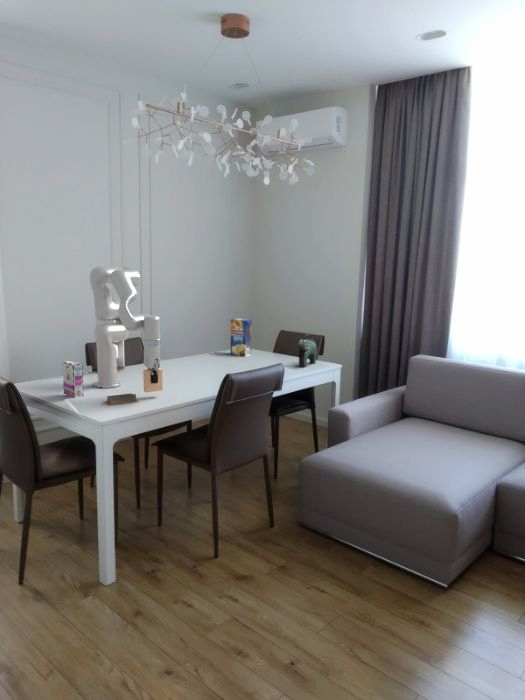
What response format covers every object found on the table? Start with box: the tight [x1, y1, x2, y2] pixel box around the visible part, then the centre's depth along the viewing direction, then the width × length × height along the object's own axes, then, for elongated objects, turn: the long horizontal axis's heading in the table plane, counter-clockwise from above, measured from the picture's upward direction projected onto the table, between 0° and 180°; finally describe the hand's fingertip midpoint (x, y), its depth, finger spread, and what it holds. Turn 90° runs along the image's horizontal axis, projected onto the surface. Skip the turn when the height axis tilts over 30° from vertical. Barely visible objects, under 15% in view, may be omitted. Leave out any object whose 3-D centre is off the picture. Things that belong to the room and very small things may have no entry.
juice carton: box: [230, 318, 253, 357], centre depth 368 cm, size 12×8×24 cm, turn 60°
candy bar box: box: [62, 359, 84, 399], centre depth 254 cm, size 11×5×16 cm, turn 45°
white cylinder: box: [94, 312, 125, 374], centre depth 308 cm, size 11×11×35 cm
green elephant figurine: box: [297, 333, 318, 369], centre depth 339 cm, size 20×6×20 cm, turn 148°
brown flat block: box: [103, 393, 140, 407], centre depth 245 cm, size 8×14×4 cm, turn 121°
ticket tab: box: [142, 367, 164, 393], centre depth 252 cm, size 3×8×10 cm, turn 121°
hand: (153, 381), depth 252 cm, fingers closed on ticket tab, 3 cm apart
